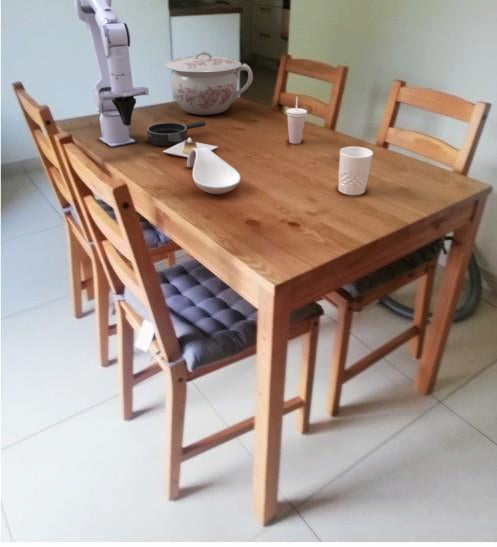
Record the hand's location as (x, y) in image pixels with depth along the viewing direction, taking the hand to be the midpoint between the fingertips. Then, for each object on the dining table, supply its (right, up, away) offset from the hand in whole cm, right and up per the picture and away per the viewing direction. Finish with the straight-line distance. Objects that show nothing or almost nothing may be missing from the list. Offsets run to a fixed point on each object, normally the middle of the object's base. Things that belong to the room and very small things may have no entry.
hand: (126, 124), depth 139 cm
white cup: (+60, -21, -14) cm, 65 cm away
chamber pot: (+18, +19, +48) cm, 54 cm away
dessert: (+17, -6, +9) cm, 20 cm away
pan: (+9, 0, +18) cm, 20 cm away
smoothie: (+49, 0, +18) cm, 52 cm away
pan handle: (+17, +5, +21) cm, 28 cm away
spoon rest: (+24, -18, -10) cm, 32 cm away
